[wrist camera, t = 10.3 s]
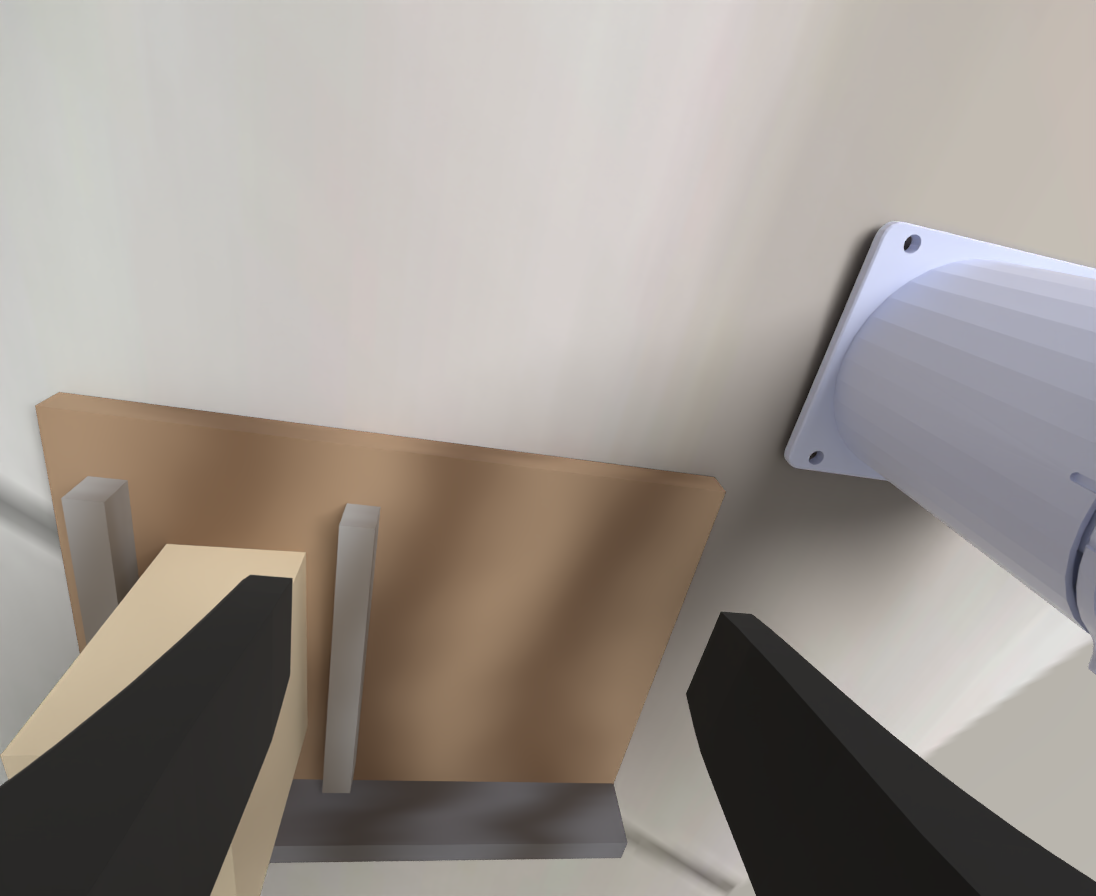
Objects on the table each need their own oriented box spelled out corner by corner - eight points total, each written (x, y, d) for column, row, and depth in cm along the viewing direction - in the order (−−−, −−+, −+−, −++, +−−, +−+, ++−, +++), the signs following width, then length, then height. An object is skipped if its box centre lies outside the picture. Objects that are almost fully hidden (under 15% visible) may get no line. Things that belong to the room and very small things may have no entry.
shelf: (714, 477, 20) (759, 535, 17) (602, 779, 27) (619, 860, 24) (59, 392, 16) (-39, 448, 13) (119, 772, 23) (64, 869, 20)
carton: (307, 730, 22) (243, 959, 15) (191, 729, 21) (74, 970, 15) (306, 552, 18) (222, 755, 12) (166, 544, 17) (0, 755, 11)
